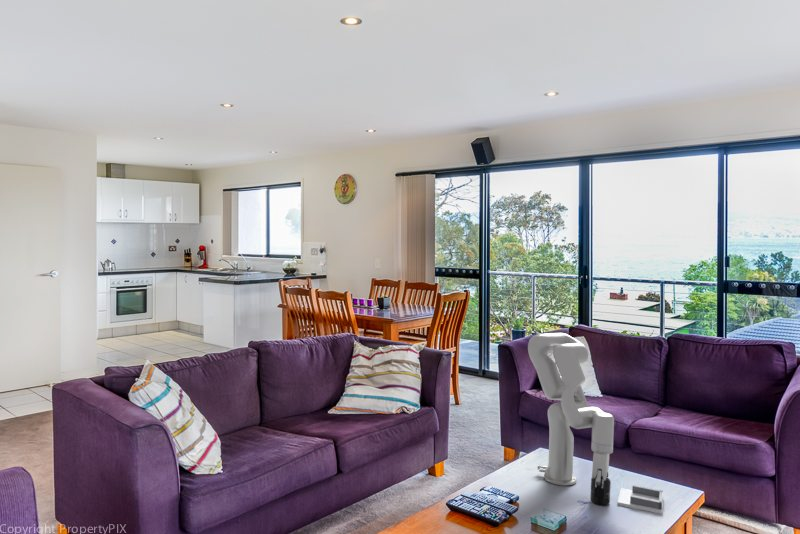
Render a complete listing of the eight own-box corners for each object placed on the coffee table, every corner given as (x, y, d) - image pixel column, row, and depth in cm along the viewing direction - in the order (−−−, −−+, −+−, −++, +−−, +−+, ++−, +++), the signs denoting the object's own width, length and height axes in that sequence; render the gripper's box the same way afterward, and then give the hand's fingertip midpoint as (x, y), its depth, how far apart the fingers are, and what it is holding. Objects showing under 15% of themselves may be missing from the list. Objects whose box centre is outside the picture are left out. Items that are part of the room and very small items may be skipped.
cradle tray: (617, 504, 212) (617, 495, 212) (620, 490, 225) (621, 481, 225) (662, 514, 206) (662, 504, 206) (663, 498, 219) (663, 489, 218)
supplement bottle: (611, 507, 210) (612, 475, 210) (591, 505, 211) (592, 473, 211) (608, 499, 217) (609, 467, 216) (589, 497, 218) (590, 466, 218)
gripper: (594, 438, 223) (592, 483, 223) (588, 452, 207) (586, 501, 208) (615, 441, 219) (613, 487, 220) (610, 456, 204) (608, 505, 205)
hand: (600, 493), depth 214 cm, fingers closed on supplement bottle, 6 cm apart
